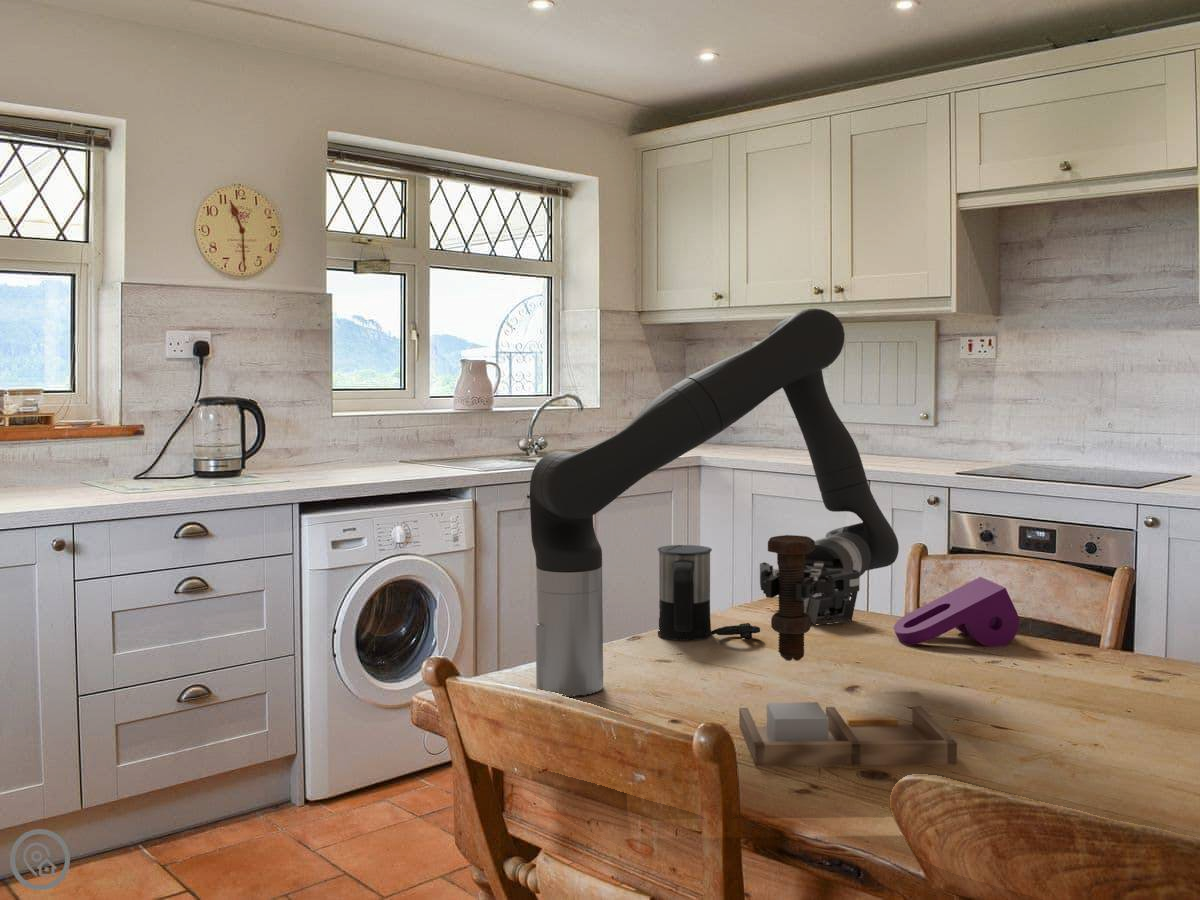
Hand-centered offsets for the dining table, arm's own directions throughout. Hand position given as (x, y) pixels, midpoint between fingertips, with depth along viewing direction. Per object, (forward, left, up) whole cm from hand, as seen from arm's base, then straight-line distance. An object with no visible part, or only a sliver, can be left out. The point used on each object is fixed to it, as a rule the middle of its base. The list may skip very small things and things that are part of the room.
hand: (783, 590), depth 129 cm
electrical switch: (+19, +58, -18) cm, 63 cm away
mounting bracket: (+35, +45, -18) cm, 60 cm away
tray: (+6, -7, -18) cm, 20 cm away
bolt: (+1, +3, -9) cm, 10 cm away
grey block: (0, -7, -16) cm, 18 cm away
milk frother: (-4, +48, -18) cm, 51 cm away
